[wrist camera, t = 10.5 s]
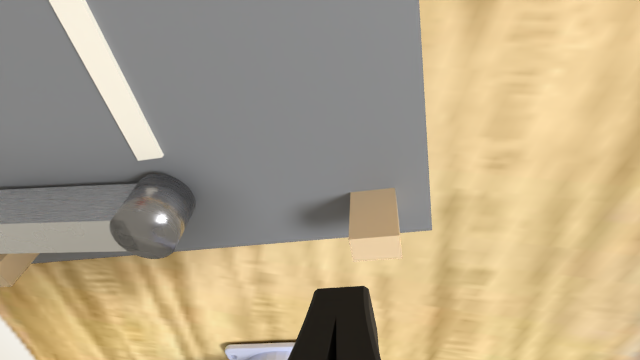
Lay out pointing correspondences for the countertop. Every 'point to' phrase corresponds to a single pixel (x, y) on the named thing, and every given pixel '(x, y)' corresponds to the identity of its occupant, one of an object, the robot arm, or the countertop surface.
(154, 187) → the lock bar
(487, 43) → the countertop surface
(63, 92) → the plate
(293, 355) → the robot arm
